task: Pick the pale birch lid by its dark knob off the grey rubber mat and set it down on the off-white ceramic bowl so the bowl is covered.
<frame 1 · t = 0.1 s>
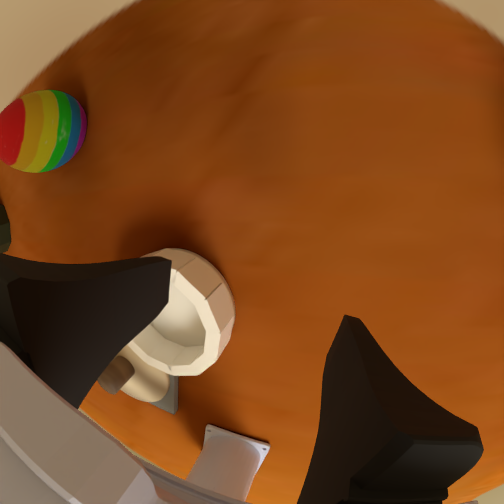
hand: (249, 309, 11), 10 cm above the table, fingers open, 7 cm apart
bowl: (182, 302, 24), on the table
mat: (133, 357, 29), on the table
lid: (128, 362, 28), point 1 cm above the table, touching mat
decorative egg: (73, 130, 23), on the table
wine bottle: (2, 226, 32), on the table
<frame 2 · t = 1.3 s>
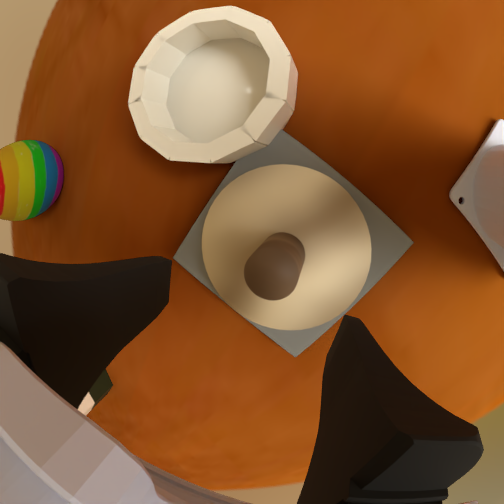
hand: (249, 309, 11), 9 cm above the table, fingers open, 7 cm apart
bowl: (224, 92, 17), on the table
mat: (287, 246, 19), on the table
lid: (284, 250, 18), point 1 cm above the table, touching mat
decorative egg: (52, 175, 24), on the table
wine bottle: (91, 368, 32), on the table
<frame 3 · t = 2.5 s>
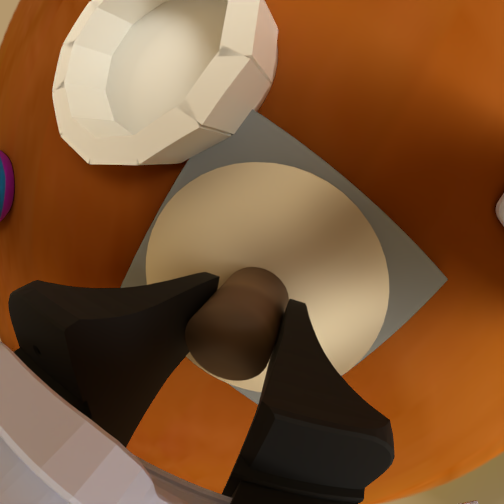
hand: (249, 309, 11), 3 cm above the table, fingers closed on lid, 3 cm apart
bowl: (178, 66, 11), on the table
mat: (265, 282, 13), on the table
lid: (260, 290, 12), point 1 cm above the table, touching gripper, mat
decorative egg: (6, 183, 18), on the table
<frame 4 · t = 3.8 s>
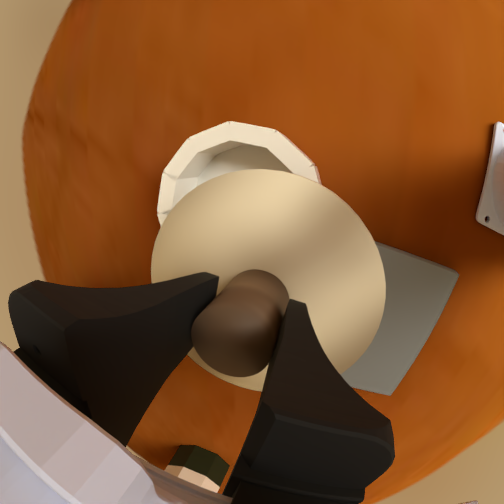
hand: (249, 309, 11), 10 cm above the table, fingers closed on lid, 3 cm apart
bowl: (251, 203, 20), on the table
mat: (358, 318, 20), on the table
lid: (261, 292, 13), point 8 cm above the table, touching gripper
wine bottle: (203, 459, 33), on the table
when the fingers open (7 cm above the table, at t = 4.9 s): lid stays where it is, resting on bowl.
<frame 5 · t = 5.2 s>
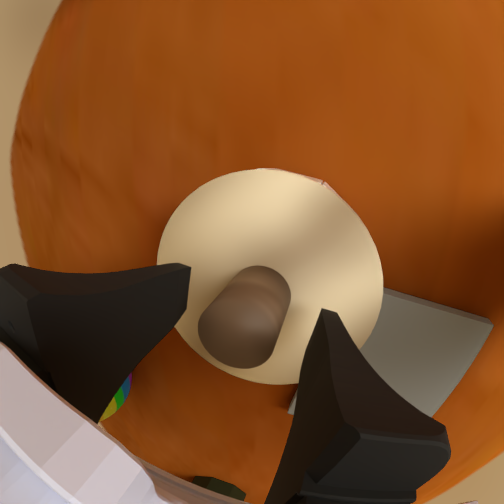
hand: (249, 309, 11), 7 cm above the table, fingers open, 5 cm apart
mat: (389, 370, 17), on the table
lid: (264, 287, 13), point 4 cm above the table, touching bowl
decorative egg: (112, 357, 25), on the table
wine bottle: (219, 487, 30), on the table
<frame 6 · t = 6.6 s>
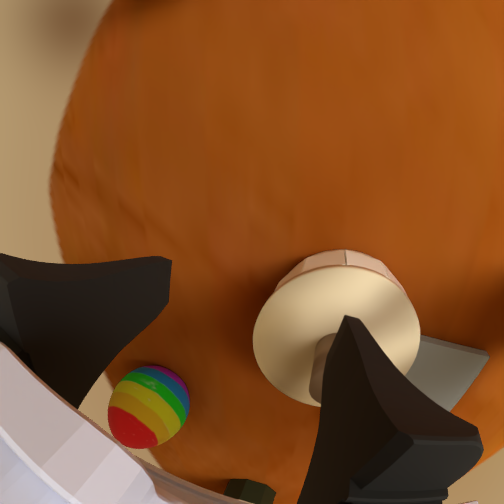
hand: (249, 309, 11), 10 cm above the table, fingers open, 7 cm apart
bowl: (339, 311, 21), on the table
mat: (410, 390, 21), on the table
lid: (337, 343, 17), point 4 cm above the table, touching bowl
decorative egg: (168, 382, 29), on the table
wine bottle: (251, 488, 33), on the table
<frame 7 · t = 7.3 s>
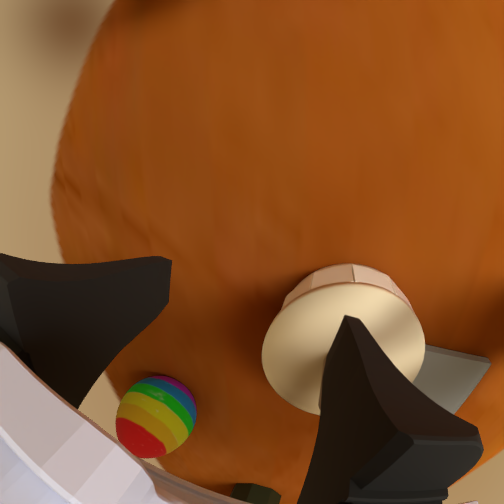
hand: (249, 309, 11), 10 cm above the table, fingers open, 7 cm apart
bowl: (345, 323, 21), on the table
mat: (413, 396, 21), on the table
lid: (344, 357, 17), point 4 cm above the table, touching bowl
decorative egg: (174, 391, 29), on the table
wine bottle: (257, 492, 33), on the table
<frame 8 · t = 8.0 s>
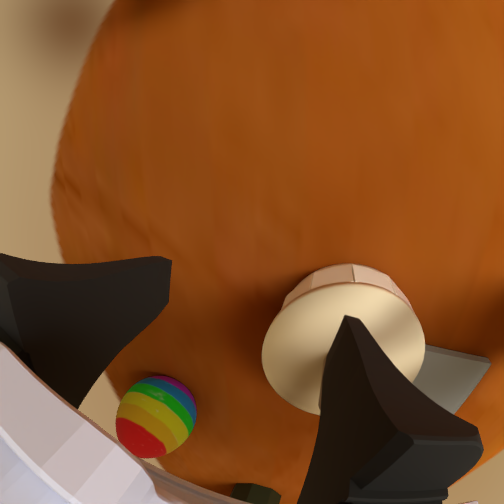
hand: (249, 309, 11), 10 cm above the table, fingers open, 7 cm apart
bowl: (345, 323, 21), on the table
mat: (413, 396, 21), on the table
lid: (344, 357, 17), point 4 cm above the table, touching bowl
decorative egg: (174, 391, 29), on the table
wine bottle: (257, 492, 33), on the table
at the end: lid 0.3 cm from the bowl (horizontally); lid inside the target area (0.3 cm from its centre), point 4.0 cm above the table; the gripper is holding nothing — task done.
